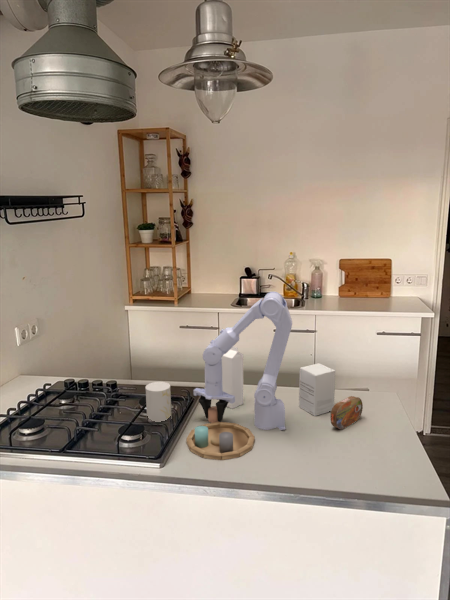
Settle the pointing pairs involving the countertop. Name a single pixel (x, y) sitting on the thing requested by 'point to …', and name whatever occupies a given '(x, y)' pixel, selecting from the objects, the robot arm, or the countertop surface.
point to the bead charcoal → (225, 442)
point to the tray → (241, 441)
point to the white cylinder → (158, 401)
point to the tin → (346, 412)
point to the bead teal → (201, 436)
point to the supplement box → (316, 389)
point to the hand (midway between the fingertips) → (214, 418)
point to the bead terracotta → (212, 414)
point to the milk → (233, 375)
